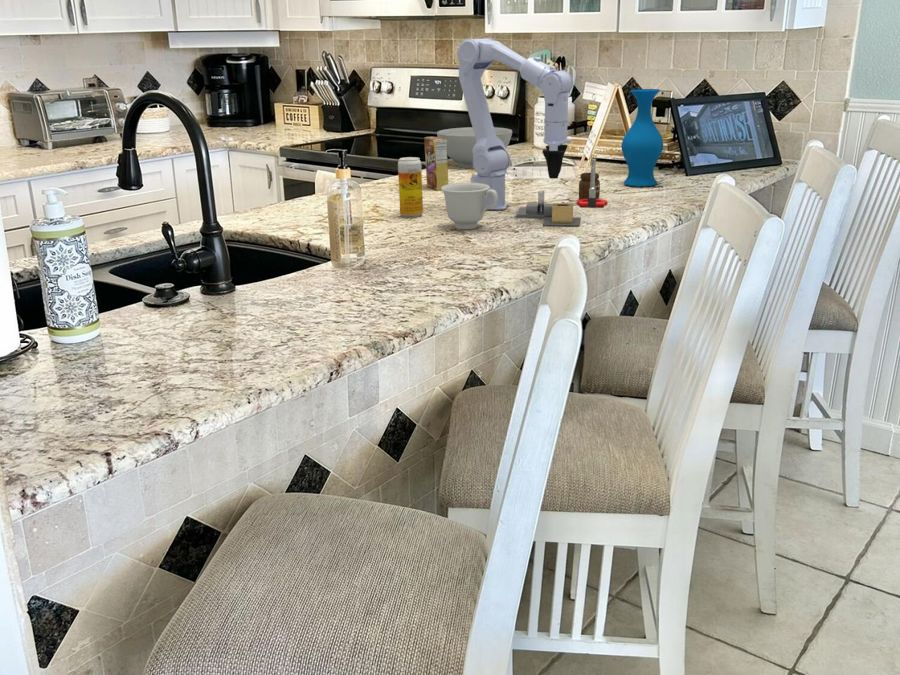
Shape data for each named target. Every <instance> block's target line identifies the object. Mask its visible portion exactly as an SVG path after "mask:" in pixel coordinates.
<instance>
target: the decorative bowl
mask: <svg viewBox="0 0 900 675" xmlns="http://www.w3.org/2000/svg"><path fill="white" fill-rule="evenodd" d="M494 130H495V134H496V136H497V137H498V138H499V139H500V140H501V141H502V142H503V143H504V147H505V149H506V150H507V148H508V146H509V144H510V141H511V139H512V135H513V130H512V129H510V128H505V127H495V126H494ZM436 135H437V136H436V137H438V138H441V139H445V140H447V157H449V158H450V159H451V160H453V161H454V162H455V163H457V167H460V168H463V167H468V168H467V169H474V167H473V152H472V149H473V147H474V146H475V144H476V138H475V135H474V131H473V127H471V126H470V127H469V126H467V127H466V126H465V127H456V128H455V127H454V128H448V129H447V128H446V129H441V130H438V131H437V132H436ZM488 151H489V150H488Z"/></svg>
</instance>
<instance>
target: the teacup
mask: <svg viewBox="0 0 900 675" xmlns="http://www.w3.org/2000/svg"><path fill="white" fill-rule="evenodd" d="M489 188H490V186H489V185H486V184H482V183H471V182H455V183H448V185H444V186H442V187H441V189H442V190H441V191H442V192H443V196H444V201H445V209H446V214H447V217H448V218H449V220H450V222H451V221H452V222H453V223H454V228H455V229H456V230H457V229H458V230H474V229H476V228H478V226H479V225H478V223H479V221H481V220H482V219H483V217H484V216H485V212H486V211H487V209H490V208H493V207H494V206H495V205H496V204H497V201H498V195H497V192H496V191H495V190H492V189H490V190H488V189H489ZM489 194H492V195H493V197H494V200H493V202H492V204H490V205H488V206H486V207H485V205H486V199H487V198H488V197H489Z"/></svg>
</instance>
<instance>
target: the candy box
mask: <svg viewBox="0 0 900 675" xmlns="http://www.w3.org/2000/svg"><path fill="white" fill-rule="evenodd" d="M423 142H424V156H425V174H426V176H425V177H426V187H429V188H430V189H433V190H435V191H436V192H437V191H442V189H441V187H442V186H444V185H448V184H449V166H448V165H449V164H448V162H449V161H448V160H449V159H448V155H447V140H445V139H441V138H438V136H426V137H424V141H423Z"/></svg>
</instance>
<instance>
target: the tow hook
mask: <svg viewBox="0 0 900 675" xmlns="http://www.w3.org/2000/svg"><path fill="white" fill-rule="evenodd" d="M596 168H597V167H596V165H595V158H594V159H593V158H592V166H590V173H591V183H590V188H589V197H588V199H577V200H576V205H579V207H580V208H605V206H607V205H608V200H606V199H603V198H599V199H596V197H595V191H596V188H595V173H596Z"/></svg>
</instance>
